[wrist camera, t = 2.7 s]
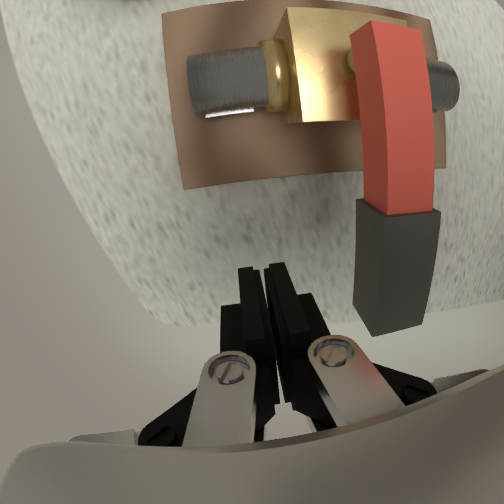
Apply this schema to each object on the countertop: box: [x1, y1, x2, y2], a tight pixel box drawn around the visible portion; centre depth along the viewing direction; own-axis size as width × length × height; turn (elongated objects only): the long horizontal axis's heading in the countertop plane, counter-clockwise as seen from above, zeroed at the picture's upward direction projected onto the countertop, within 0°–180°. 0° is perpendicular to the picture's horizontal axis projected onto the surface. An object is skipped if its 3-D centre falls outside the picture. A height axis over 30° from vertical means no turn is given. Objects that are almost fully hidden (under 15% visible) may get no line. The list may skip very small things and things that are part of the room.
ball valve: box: [186, 7, 460, 124], centre depth 15 cm, size 18×6×6 cm, turn 97°
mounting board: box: [162, 0, 446, 190], centre depth 18 cm, size 22×14×2 cm, turn 97°
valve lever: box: [347, 20, 441, 337], centre depth 12 cm, size 3×14×4 cm, turn 7°
